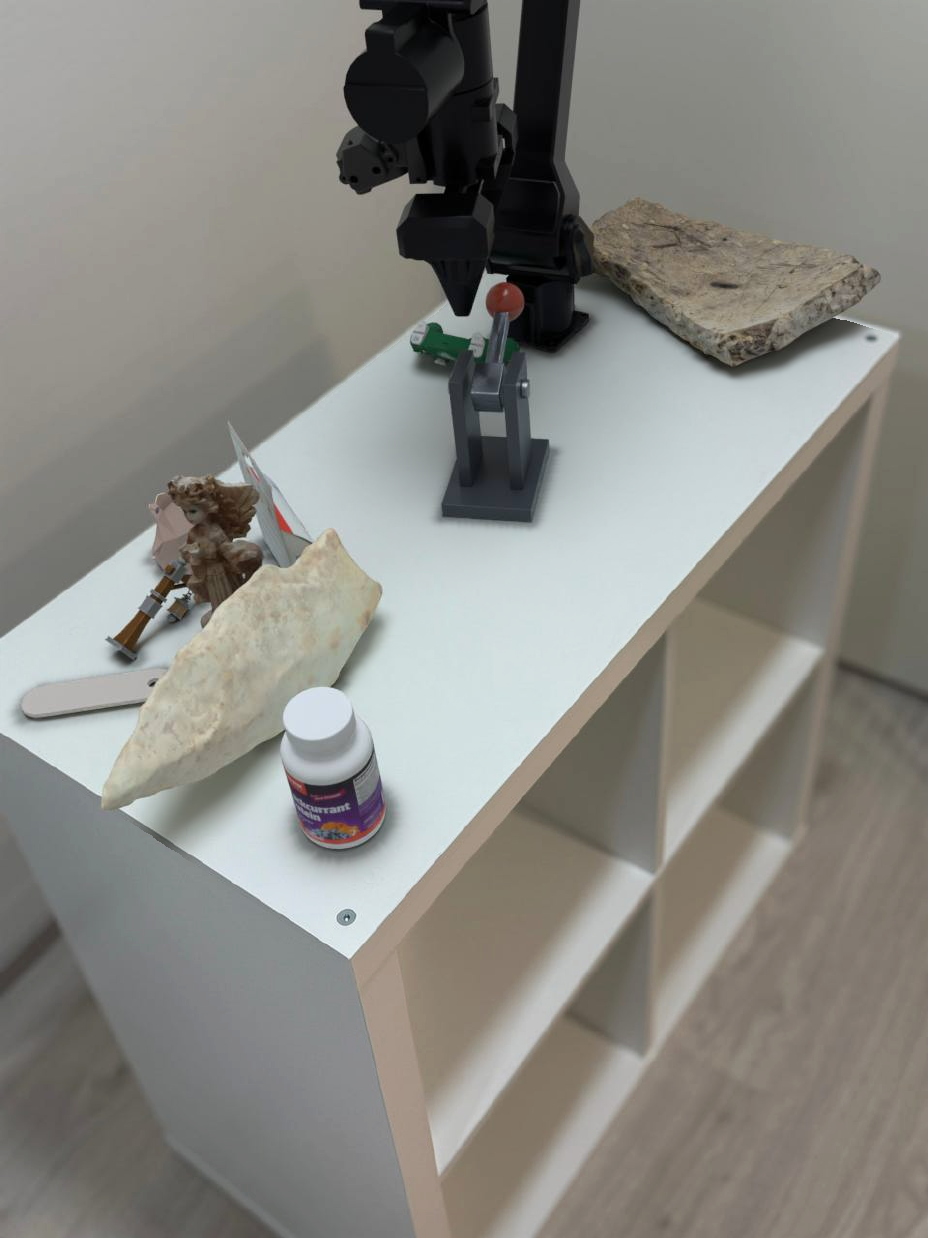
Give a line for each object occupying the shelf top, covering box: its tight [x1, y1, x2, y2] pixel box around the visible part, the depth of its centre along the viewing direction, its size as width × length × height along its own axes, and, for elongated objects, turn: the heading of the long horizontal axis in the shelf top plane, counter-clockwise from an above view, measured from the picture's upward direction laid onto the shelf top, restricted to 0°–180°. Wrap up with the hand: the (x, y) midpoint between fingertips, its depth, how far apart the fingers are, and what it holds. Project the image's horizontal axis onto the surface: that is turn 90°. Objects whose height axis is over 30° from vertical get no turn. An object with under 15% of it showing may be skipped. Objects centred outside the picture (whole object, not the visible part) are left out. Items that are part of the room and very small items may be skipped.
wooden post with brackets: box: [104, 557, 194, 661], centre depth 90 cm, size 2×8×4 cm, turn 139°
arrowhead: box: [100, 527, 383, 811], centre depth 79 cm, size 10×6×25 cm
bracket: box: [440, 350, 551, 523], centre depth 96 cm, size 9×7×11 cm
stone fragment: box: [589, 196, 882, 367], centre depth 115 cm, size 28×6×20 cm
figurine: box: [166, 472, 266, 629], centre depth 83 cm, size 7×6×15 cm
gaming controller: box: [409, 319, 521, 366], centre depth 111 cm, size 9×4×6 cm
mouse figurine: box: [148, 492, 195, 576], centre depth 93 cm, size 5×8×7 cm, turn 58°
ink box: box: [226, 420, 315, 568], centre depth 90 cm, size 3×9×12 cm, turn 26°
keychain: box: [20, 668, 168, 719], centre depth 86 cm, size 10×1×3 cm
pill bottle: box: [279, 687, 387, 850], centre depth 74 cm, size 5×5×10 cm
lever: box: [470, 281, 524, 413], centre depth 95 cm, size 11×3×3 cm, turn 168°
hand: (471, 282), depth 96 cm, fingers open, 9 cm apart
